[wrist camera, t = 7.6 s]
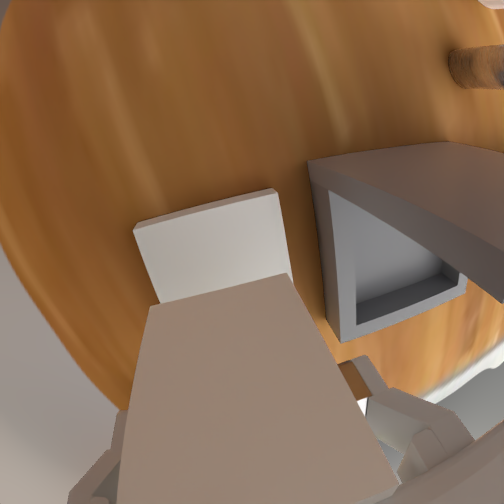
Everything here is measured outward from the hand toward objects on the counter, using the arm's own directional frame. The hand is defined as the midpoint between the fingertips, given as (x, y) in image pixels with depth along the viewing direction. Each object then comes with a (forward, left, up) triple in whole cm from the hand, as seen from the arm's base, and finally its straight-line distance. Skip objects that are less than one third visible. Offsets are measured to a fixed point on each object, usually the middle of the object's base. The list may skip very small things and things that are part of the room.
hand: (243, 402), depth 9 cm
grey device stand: (0, +11, -9) cm, 14 cm away
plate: (0, 0, -9) cm, 9 cm away
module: (0, 0, -3) cm, 3 cm away
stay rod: (-10, +18, -9) cm, 22 cm away
